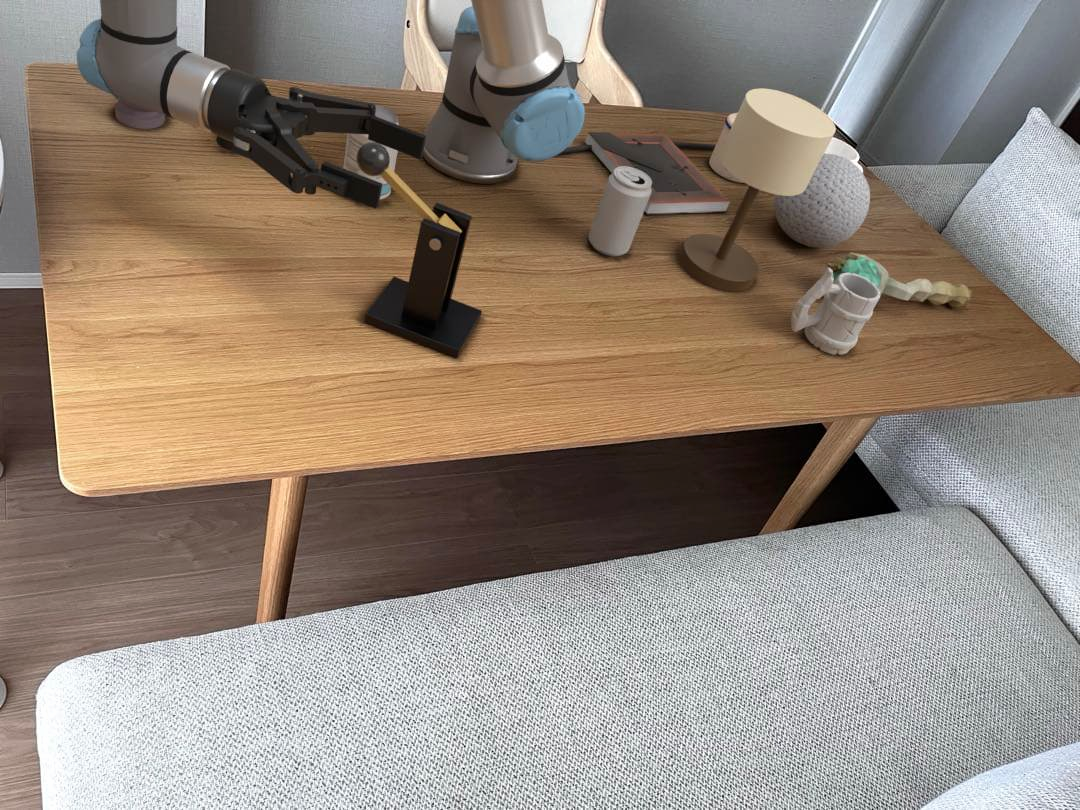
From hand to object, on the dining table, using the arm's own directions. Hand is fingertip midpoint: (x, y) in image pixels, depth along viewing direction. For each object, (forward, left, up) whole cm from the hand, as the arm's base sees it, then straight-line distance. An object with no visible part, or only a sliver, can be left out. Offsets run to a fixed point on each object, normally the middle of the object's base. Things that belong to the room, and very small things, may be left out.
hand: (402, 170), depth 100 cm
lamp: (-55, -7, -19) cm, 58 cm away
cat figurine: (+24, -41, -19) cm, 52 cm away
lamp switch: (0, 0, -4) cm, 4 cm away
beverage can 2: (-38, -12, -19) cm, 44 cm away
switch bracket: (-5, +4, -19) cm, 19 cm away
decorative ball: (-77, -15, -19) cm, 81 cm away
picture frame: (-56, -32, -19) cm, 67 cm away
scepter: (-85, +1, -19) cm, 87 cm away
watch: (+12, -36, -19) cm, 43 cm away
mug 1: (-88, -27, -19) cm, 94 cm away
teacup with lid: (-76, -36, -19) cm, 86 cm away
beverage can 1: (-4, -24, -19) cm, 31 cm away
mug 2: (-63, +10, -19) cm, 66 cm away
